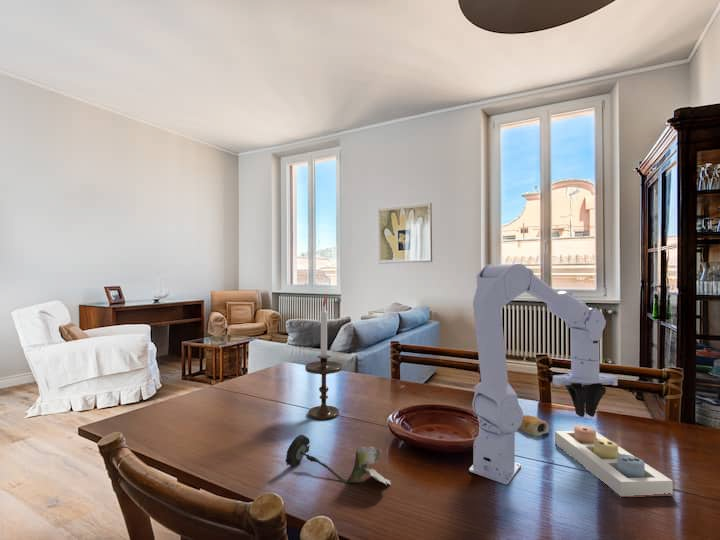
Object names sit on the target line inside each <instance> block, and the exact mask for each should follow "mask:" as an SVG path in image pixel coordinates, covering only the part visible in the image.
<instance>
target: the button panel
mask: <svg viewBox="0 0 720 540" xmlns="http://www.w3.org/2000/svg"><path fill="white" fill-rule="evenodd" d="M596 439H605V440H609V441H611V440H610V439H609V438H607V437H606V436H604V435H602V434H600V432H597V431H596ZM554 444H555V445H556V446H558V448H560V449H561V450H562V449H563V450H562V451H564V452H565V453H566V452H567V453H568V454H567V453H566V454H567V455H569V456H570V455H571V456H572V457H573V458H574V461H576V460H577V461H578V462H579V463H580V464H579V463H578V462H577V461H576V462H577V463H578V464H579V465H581V464H582V465H583V466H584V467H585V468H587V469H588V470H589V471H590V472H592V473H591V474H592V475H593V474H594V475H595V476H596V477H597V479H598V478H599V479H600V480H601V481H603V482H604V483H605V484H607V485H608V486H609V487H610V488H612V489H613V490H614V491H615V492H616V493H618V494H619V495H620V496H634V495H653V494H664V493H666V494H668V493H671V494H673V492H674V491H673V488H674V487H673V484H674V483H673V480H672V479H670V478H669V477H667V476H666V475H665V474H663V473H661V472H660V471H658V470H656V469H655V468H653V467H652V466H650V465H649V464H647V463H645V462H644V463H645V478H627V477H625V476H624V475H623V474H621V473H620V472H619V471H617V459H601V458H600V457H598V456H597V455H596V454H594V444H581V443H579V442H578V441H577V440H575V439H574V430H555V431H554ZM621 454H625V455H631V456H634V455H633V454H631V452H628V451H627V450H626V449H624V448H622V447H620V446H619V445H618V455H621ZM571 456H570V457H571ZM572 457H571V458H572ZM634 457H636V456H634ZM573 458H572V459H573ZM582 465H581V466H582ZM583 466H582V467H583ZM584 467H583V468H584ZM585 468H584V469H585ZM587 469H586V470H587ZM588 470H587V471H588ZM589 471H588V472H589ZM590 472H589V473H590ZM594 475H593V476H594ZM595 476H594V477H595ZM596 477H595V478H596ZM599 479H598V480H599ZM600 480H599V481H600ZM601 481H600V482H601ZM604 483H603V484H604ZM605 484H604V485H605ZM610 488H609V489H610ZM615 492H614V493H615ZM616 493H615V494H616Z"/></svg>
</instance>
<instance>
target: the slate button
mask: <svg viewBox="0 0 720 540" xmlns="http://www.w3.org/2000/svg"><path fill="white" fill-rule="evenodd" d="M617 471H619V472H620V473H621V474H623V475H624V476H625V477H627V478H645V462H644V461H643V459H641V458H640V457H637V456H635V457H634V455H633V456H631V455H625V454H621V455H618V456H617Z"/></svg>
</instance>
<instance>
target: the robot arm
mask: <svg viewBox="0 0 720 540" xmlns="http://www.w3.org/2000/svg"><path fill="white" fill-rule="evenodd" d="M476 285H477V286H476V289H475V294H474V296H473V301H472V306H473V307H472V308H473V314H474V315H473V317H474V325H475V326H474V327H475V334H476V345H477V346H476V347H477V352H478V353H477V354H478V355H477V356H478V365H479V374H480V382H479V383H477V384H476V385H475V386H474V387H473V388H474V394H473V395H474V396H473V398H472V399H473V400H472V402H471V403H472V404H471V405H472V410H473V412H474V414H475V415H476V416H477V422H478V435H477V436H476V438H475V439H474V440H473V445H472V446H473V447H472V448H473V450H472V451H473V452H472V453H473V459H472V460H473V463H472V465H471V466H470V467H469V469H468V471H469V472H470V473H473V474H475V475H478V476H481V477H483V478H486V479H490V480H492V481H494V482H497V483H500V484H502V485H509V483H510V481H512V479H513V478H514V476H515V475H516V474H517V472H518V471H519V470H520V469H521V467H522V464H521V463H520V462H517V461H515V460H516V459H515V457H516V456H515V455H516V453H515V451H516V450H515V448H516V445H515V443H516V442H515V441H516V440H515V439H516V438H515V437H516V435H515V434H516V433H517V432H518V430H519V429H518V428H519V427H520V426H521V424H522V421H523V415H524V412H523V409H522V407H521V406H520V405H521V404H519V400H518V399H519V398H518V395H517V393H516V391H515V390H514V389H513V388H512V386H511V384H510V383H509V378H508V377H509V376H508V375H509V374H508V366H507V358H506V349H505V347H506V346H505V337H504V327H503V319H502V318H503V317H502V309H503V308H504V307H505V306H506V305H507V304H508V303H509V302H510V303H511V301H513V300H514V299H516V298H518V297H519V296H521V295H522V294H524V293H527V294H529V295H530V296H532V297H534V298H535V299H538V300H540V301H541V302H543V303H545V304H546V308H547V310H548V311H549V312H550V313H551V314H553V315H554V316H556V317H557V318H559V319H561V320H562V321H564V323H565V326H566V328H568V329H570V356H571V357H570V373H565V374H557V375H556V374H555V375H552V384H553V385H555V386H557V387H561V386H565V388H566V389H567V391H568V394H569V395H570V398H571V400H572V403H573V407H574V410H575V414H576V415H577V416H579V417H582V418H584V417H585V414H586V415H587V416H589V417H592V418H594V417H595V415H596V412H597V408H598V406H599V403H600V401H601V400H602V398H603V396H604V395H605V394H606V392H607V388H606V387H604V386H605V385H606V386H608V385H612V386H619V385H618V380H619V379H618V376H615V375H612V374H600V341H601V340H602V338H603V330H604V329H605V328H606V324H607V320H606V319H605V316H604V314H603V313H602V312H601V310H599V309H598V308H595V307H589V306H588V305H586V304H587V303H586V302H585V301H581V300H579V299H577V298H575V297H574V296H573V295H574V293H572V292H571V291H569V290H568V291H567V290H559V291H556V290H555V289H554V288H552V287H551V286H550V285H549V284H547V283H546V282H544V280H542V279H541V278H539V277H538V276H536V274H534V270H532V268H528V267H527V266H525V265H524V264H522V263H513V264H511V263H510V264H493V263H491V264H487V265H485V266H484V267H482V268H481V270H480V271H479V272H478V273H477V274H476ZM603 385H604V386H603Z"/></svg>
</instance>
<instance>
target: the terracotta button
mask: <svg viewBox="0 0 720 540" xmlns="http://www.w3.org/2000/svg"><path fill="white" fill-rule="evenodd" d="M573 431H574V439H575V440H577V441H578V442H579V443H581V444H594V440H595V439H596V432H597V431H596V429H595V428H592V427H589V426H585V425H576V426H574V427H573Z"/></svg>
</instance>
